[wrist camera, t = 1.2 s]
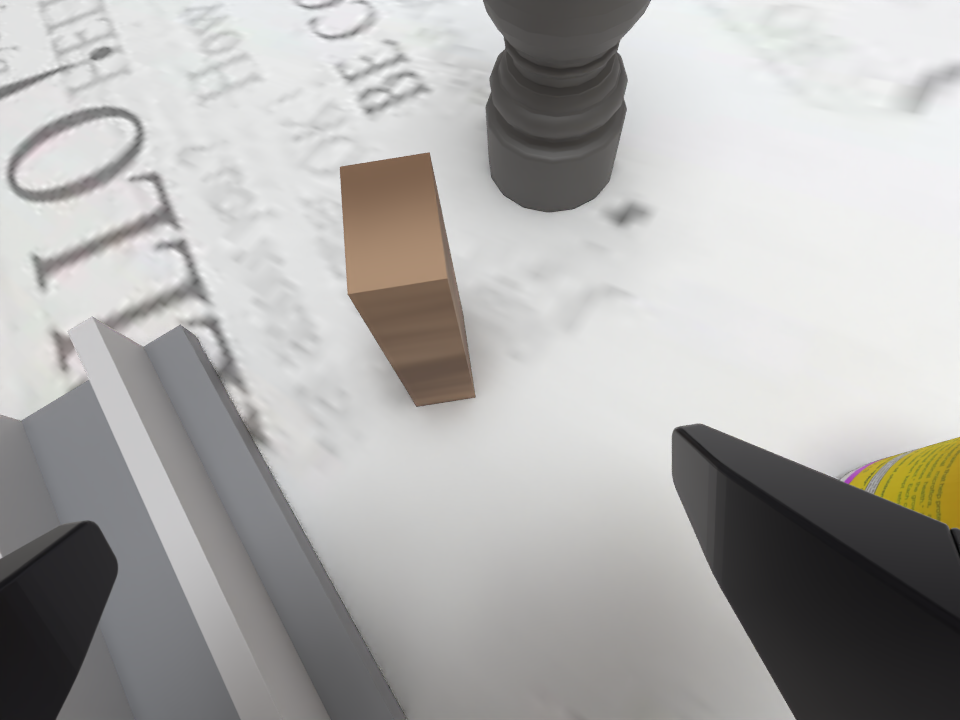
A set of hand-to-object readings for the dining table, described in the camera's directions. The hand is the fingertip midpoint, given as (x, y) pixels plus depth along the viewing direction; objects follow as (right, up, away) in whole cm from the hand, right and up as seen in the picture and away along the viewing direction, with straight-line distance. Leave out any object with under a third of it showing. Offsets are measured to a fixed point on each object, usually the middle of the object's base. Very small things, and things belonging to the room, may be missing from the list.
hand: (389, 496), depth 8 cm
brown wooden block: (0, +2, +15) cm, 15 cm away
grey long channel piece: (-10, -6, +12) cm, 17 cm away
